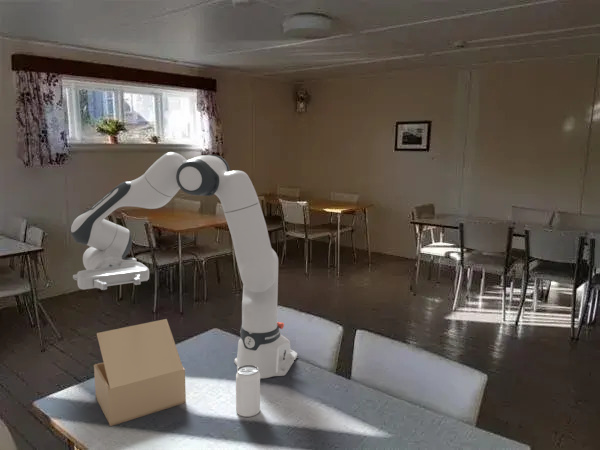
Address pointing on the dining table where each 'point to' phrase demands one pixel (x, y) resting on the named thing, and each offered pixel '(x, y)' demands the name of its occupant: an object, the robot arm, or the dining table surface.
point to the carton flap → (138, 353)
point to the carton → (138, 395)
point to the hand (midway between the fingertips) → (121, 284)
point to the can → (248, 391)
